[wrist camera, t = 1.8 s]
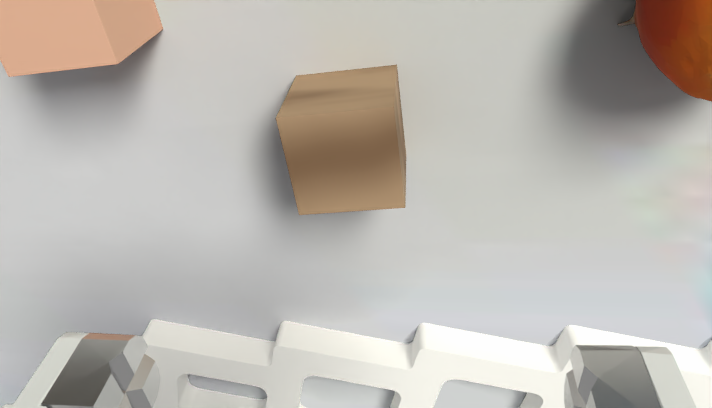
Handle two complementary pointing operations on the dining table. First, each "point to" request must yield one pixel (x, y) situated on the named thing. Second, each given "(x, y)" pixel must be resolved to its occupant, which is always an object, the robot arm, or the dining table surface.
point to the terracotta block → (72, 33)
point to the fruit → (678, 41)
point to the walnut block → (345, 140)
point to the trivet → (382, 363)
